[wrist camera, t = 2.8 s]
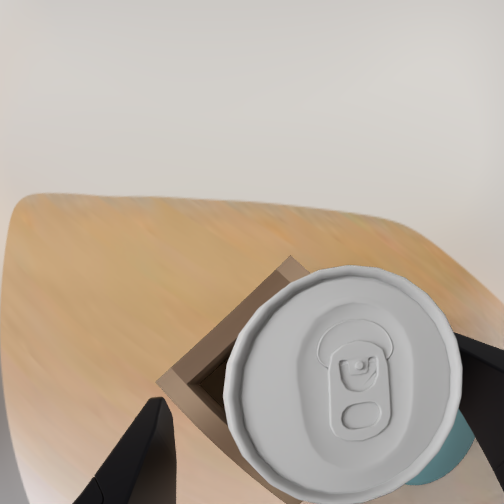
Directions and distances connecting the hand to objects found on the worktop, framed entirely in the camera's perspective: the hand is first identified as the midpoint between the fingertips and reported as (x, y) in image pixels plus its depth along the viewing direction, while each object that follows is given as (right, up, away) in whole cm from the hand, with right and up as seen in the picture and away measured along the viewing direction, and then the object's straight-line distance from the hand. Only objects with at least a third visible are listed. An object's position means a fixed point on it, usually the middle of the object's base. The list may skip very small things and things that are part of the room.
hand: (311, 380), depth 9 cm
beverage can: (0, -3, +7) cm, 8 cm away
